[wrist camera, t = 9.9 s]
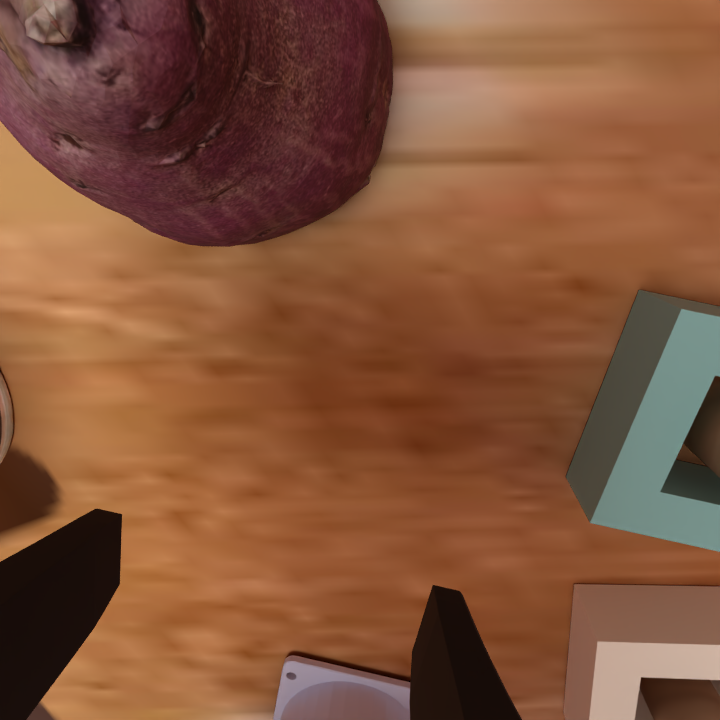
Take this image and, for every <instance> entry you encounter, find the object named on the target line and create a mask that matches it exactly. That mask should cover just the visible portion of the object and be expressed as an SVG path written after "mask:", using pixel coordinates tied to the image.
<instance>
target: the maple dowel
mask: <svg viewBox="0 0 720 720" xmlns="http://www.w3.org/2000/svg"><path fill="white" fill-rule="evenodd" d="M683 444H684V445H686V446H687V447H688V448H689V449H690V450H691V451H692V452H693V453H694V454H695V455H696V456H697V457H698V458H699V459H700V460H701V461H702V462H704V463H705V464H706V465H707V466H708V467H709V468H710V469H711V470H712V471H713V472H714V473H715V474H716V475H717V476H718V477H719V478H720V377H717V376H715V377H714V379H713V381H712V383H711V386H710V388H709V390H708V392H707V394H706V396H705V398H704V400H703V402H702V404H701V407H700V409H699V411H698V413H697V415H696V417H695V419H694V421H693V423H692V426H691V428H690V430H689V432H688V434H687V436H686V438H685V440H684V442H683Z"/></svg>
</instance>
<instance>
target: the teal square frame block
mask: <svg viewBox="0 0 720 720" xmlns="http://www.w3.org/2000/svg"><path fill="white" fill-rule="evenodd" d="M715 376H719V377H720V306H715V305H710V304H706V303H701V302H696V301H691V300H686V299H682V298H677V297H672V296H667V295H662V294H657V293H653V292H648V291H643V290H639V291H638V294H637V296H636V299H635V301H634V304H633V306H632V309H631V311H630V314H629V317H628V319H627V322H626V324H625V327H624V329H623V332H622V334H621V337H620V340H619V342H618V345H617V347H616V350H615V352H614V355H613V357H612V360H611V363H610V365H609V368H608V370H607V373H606V375H605V378H604V380H603V383H602V386H601V388H600V391H599V393H598V396H597V398H596V401H595V403H594V406H593V409H592V411H591V414H590V416H589V419H588V421H587V424H586V426H585V429H584V432H583V434H582V437H581V439H580V442H579V444H578V447H577V449H576V452H575V455H574V457H573V460H572V462H571V465H570V467H569V470H568V472H567V475H566V478H567V480H568V482H569V484H570V486H571V488H572V490H573V492H574V493H575V495H576V497H577V499H578V501H579V503H580V505H581V507H582V509H583V510H584V512H585V514H586V516H587V518H588V520H589V522H590V523H593V524H597V525H602V526H606V527H611V528H615V529H620V530H624V531H629V532H633V533H638V534H642V535H647V536H651V537H656V538H660V539H665V540H669V541H674V542H678V543H683V544H688V545H692V546H697V547H701V548H706V549H710V550H715V551H719V552H720V478H719V477H718V476H717V475H716V474H715V473H714V472H713V471H712V470H711V469H710V468H709V467H706V466H702V465H697V464H692V463H688V462H683V461H679V460H675V459H676V457H677V455H678V453H679V451H680V449H681V447H682V445H683V442H684V440H685V438H686V436H687V434H688V432H689V430H690V428H691V426H692V423H693V421H694V419H695V417H696V415H697V413H698V411H699V409H700V407H701V404H702V402H703V400H704V398H705V396H706V394H707V392H708V390H709V388H710V386H711V383H712V381H713V379H714V377H715Z"/></svg>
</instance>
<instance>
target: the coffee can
mask: <svg viewBox="0 0 720 720" xmlns="http://www.w3.org/2000/svg"><path fill="white" fill-rule="evenodd" d="M12 435H13V409H12V403H11V398H10V395H9V392H8V389H7V386H6V383H5V381H4V379H3V376H2V374H1V372H0V464H1V462H2V461H3V459H4V457H5V456H6V453H7V451H8V448H9V446H10V443H11V439H12Z"/></svg>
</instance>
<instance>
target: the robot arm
mask: <svg viewBox="0 0 720 720" xmlns="http://www.w3.org/2000/svg"><path fill="white" fill-rule="evenodd" d="M121 527H122V514H118V513H114V512H110V511H105V510H101V509H94V510H93V511H91V512H89V513H87V514H85V515H83V516H81V517H80V518H78V519H76V520H74V521H73V522H71V523H69V524H67V525H66V526H64V527H62V528H60V529H59V530H57V531H55V532H53V533H52V534H50V535H48V536H46V537H44V538H43V539H41V540H39V541H37V542H36V543H34V544H32V545H30V546H28V547H26V548H25V549H23V550H21V551H19V552H17V553H16V554H14V555H12V556H10V557H8V558H6V559H5V560H3V561H1V562H0V720H26V719H27V718H28V717H29V715H30V714H31V712H32V711H33V710H34V709H35V707H36V706H37V705H38V703H39V702H40V701H41V699H42V698H43V696H44V695H45V694H46V692H47V691H48V690H49V688H50V687H51V686H52V684H53V683H54V682H55V680H56V679H57V678H58V676H59V675H60V674H61V672H62V671H63V670H64V668H65V667H66V666H67V664H68V663H69V662H70V660H71V659H72V658H73V656H74V655H75V653H76V652H77V651H78V649H79V648H80V647H81V645H82V644H83V643H84V641H85V640H86V638H87V637H88V636H89V634H90V633H91V632H92V630H93V629H94V627H95V626H96V624H97V622H98V621H99V619H100V617H101V616H102V614H103V612H104V611H105V609H106V607H107V605H108V604H109V602H110V600H111V598H112V597H113V595H114V593H115V591H116V590H117V588H118V586H119V584H120V559H121ZM273 720H522V719H521V717H520V715H519V714H518V712H517V710H516V708H515V706H514V704H513V702H512V700H511V699H510V697H509V695H508V693H507V691H506V689H505V687H504V685H503V683H502V681H501V679H500V677H499V675H498V673H497V671H496V669H495V667H494V665H493V663H492V661H491V659H490V657H489V654H488V652H487V650H486V648H485V646H484V644H483V641H482V639H481V637H480V635H479V633H478V630H477V628H476V626H475V623H474V621H473V619H472V616H471V614H470V612H469V609H468V607H467V605H466V602H465V600H464V597H463V595H462V594H461V592H460V591H457V590H453V589H448V588H444V587H439V586H435V585H433V586H432V590H431V593H430V596H429V599H428V602H427V606H426V609H425V612H424V615H423V618H422V622H421V625H420V628H419V631H418V635H417V638H416V641H415V644H414V647H413V651H412V663H411V680H410V682H407V681H402V680H398V679H394V678H390V677H385V676H381V675H377V674H372V673H368V672H364V671H360V670H355V669H351V668H347V667H342V666H338V665H334V664H330V663H325V662H321V661H317V660H312V659H308V658H304V657H300V656H294V655H292V656H288V657H287V658H286V659H285V661H284V665H283V670H282V675H281V680H280V685H279V691H278V696H277V701H276V706H275V712H274V717H273Z"/></svg>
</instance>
